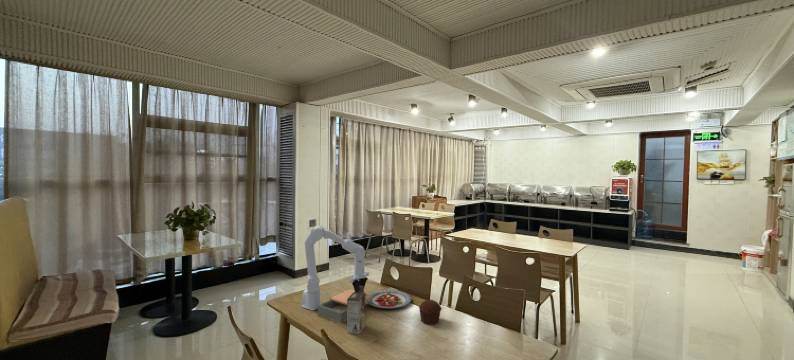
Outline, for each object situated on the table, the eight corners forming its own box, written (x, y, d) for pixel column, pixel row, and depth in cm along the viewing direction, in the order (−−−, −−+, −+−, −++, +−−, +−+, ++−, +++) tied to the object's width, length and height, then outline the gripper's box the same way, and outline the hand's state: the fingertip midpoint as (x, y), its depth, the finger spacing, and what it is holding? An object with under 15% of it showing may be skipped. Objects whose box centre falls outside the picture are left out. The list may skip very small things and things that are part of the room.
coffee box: (353, 323, 163) (353, 291, 163) (365, 325, 162) (365, 292, 161) (346, 333, 154) (346, 298, 154) (360, 334, 153) (360, 300, 152)
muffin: (417, 316, 172) (417, 297, 172) (438, 315, 173) (438, 296, 173) (421, 327, 160) (421, 306, 160) (443, 326, 161) (444, 305, 161)
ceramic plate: (356, 301, 191) (356, 295, 191) (390, 290, 209) (390, 285, 209) (385, 316, 172) (386, 310, 172) (420, 302, 190) (420, 297, 190)
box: (318, 315, 172) (318, 305, 172) (339, 304, 186) (339, 295, 185) (341, 323, 164) (341, 313, 163) (361, 311, 177) (361, 302, 177)
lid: (329, 299, 180) (329, 291, 179) (350, 290, 193) (350, 282, 193) (353, 307, 170) (353, 297, 170) (373, 296, 184) (373, 288, 184)
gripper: (356, 272, 178) (356, 297, 179) (372, 265, 191) (372, 289, 191) (346, 269, 182) (346, 294, 183) (363, 263, 194) (363, 286, 195)
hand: (359, 291), depth 187 cm, fingers open, 4 cm apart
